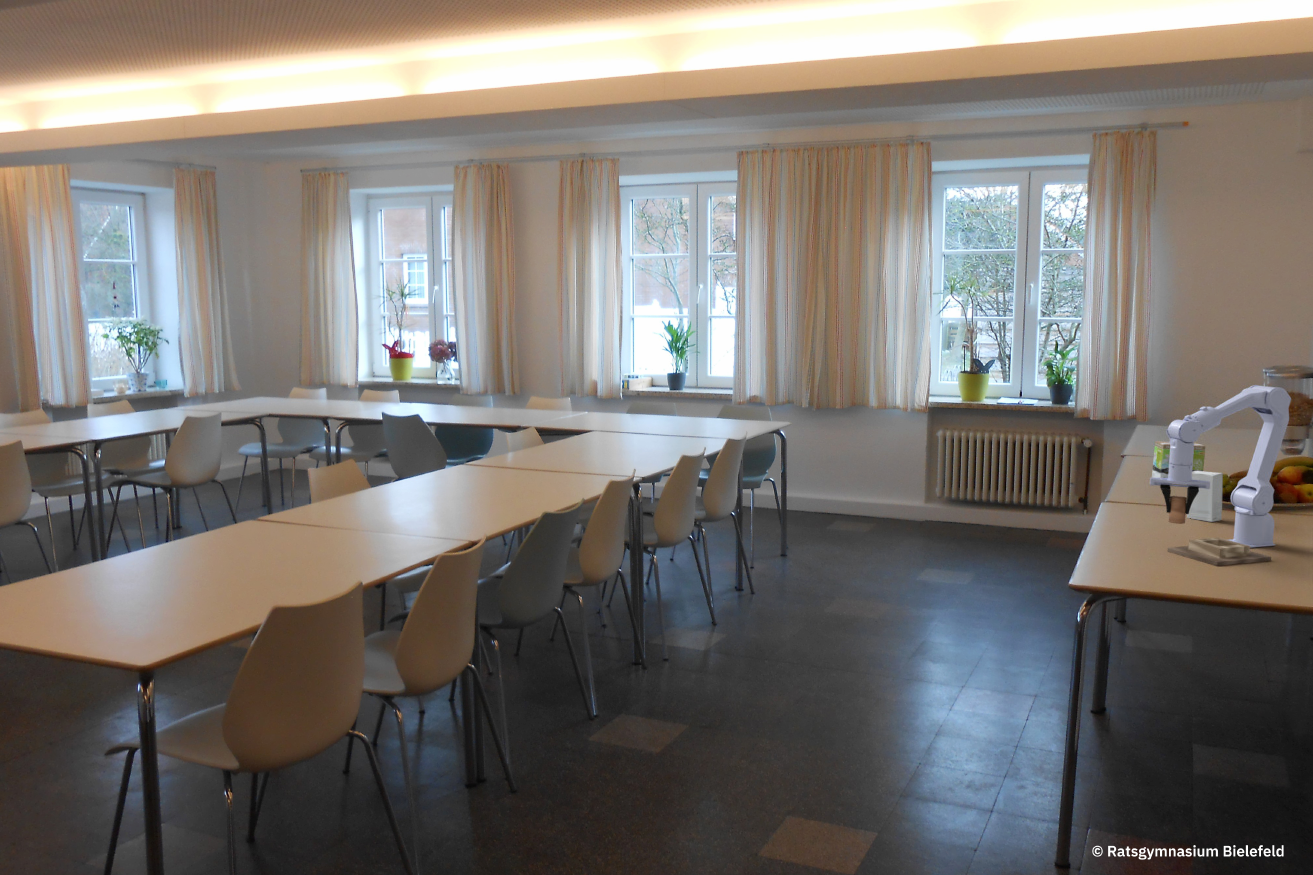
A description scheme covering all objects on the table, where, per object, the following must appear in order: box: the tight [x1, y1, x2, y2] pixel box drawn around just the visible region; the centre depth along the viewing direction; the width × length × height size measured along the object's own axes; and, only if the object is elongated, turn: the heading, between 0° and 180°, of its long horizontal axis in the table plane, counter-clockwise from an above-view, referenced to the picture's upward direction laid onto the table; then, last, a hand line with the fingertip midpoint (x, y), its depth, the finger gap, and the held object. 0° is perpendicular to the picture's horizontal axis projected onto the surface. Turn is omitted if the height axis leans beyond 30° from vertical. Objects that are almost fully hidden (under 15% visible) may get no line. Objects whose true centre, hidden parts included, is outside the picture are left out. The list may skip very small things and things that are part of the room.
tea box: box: [1151, 440, 1206, 478], centre depth 378 cm, size 15×10×15 cm
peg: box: [1168, 495, 1187, 525], centre depth 274 cm, size 4×4×7 cm
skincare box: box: [1186, 470, 1224, 523], centre depth 310 cm, size 8×6×15 cm
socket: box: [1167, 537, 1272, 567], centre depth 265 cm, size 18×16×4 cm
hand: (1177, 512), depth 274 cm, fingers closed on peg, 4 cm apart
